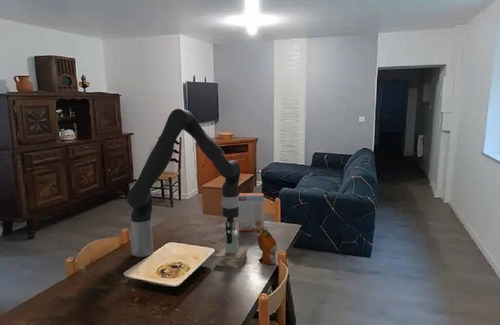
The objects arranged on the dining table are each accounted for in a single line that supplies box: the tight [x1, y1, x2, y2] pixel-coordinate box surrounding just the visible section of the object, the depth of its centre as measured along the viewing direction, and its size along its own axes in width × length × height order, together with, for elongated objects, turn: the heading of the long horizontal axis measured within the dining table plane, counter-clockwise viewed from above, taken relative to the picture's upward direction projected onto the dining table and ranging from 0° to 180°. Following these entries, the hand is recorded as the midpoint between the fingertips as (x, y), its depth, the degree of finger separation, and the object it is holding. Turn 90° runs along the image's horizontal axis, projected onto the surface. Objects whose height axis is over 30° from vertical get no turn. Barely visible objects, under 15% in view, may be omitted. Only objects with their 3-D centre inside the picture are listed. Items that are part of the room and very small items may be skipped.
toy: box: [257, 228, 278, 265], centre depth 166 cm, size 11×9×15 cm
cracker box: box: [238, 192, 265, 232], centre depth 205 cm, size 14×6×21 cm, turn 84°
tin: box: [224, 229, 238, 254], centre depth 166 cm, size 5×5×9 cm
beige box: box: [214, 244, 248, 269], centre depth 167 cm, size 11×11×5 cm
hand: (230, 239), depth 165 cm, fingers open, 8 cm apart
